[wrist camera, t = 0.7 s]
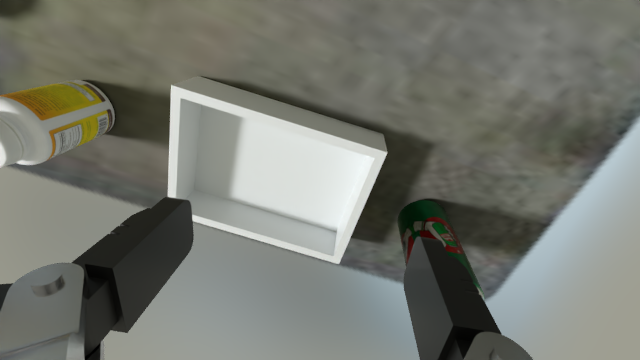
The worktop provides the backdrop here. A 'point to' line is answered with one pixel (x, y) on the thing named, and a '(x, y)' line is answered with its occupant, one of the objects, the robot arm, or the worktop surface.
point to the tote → (269, 167)
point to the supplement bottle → (51, 121)
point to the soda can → (431, 231)
